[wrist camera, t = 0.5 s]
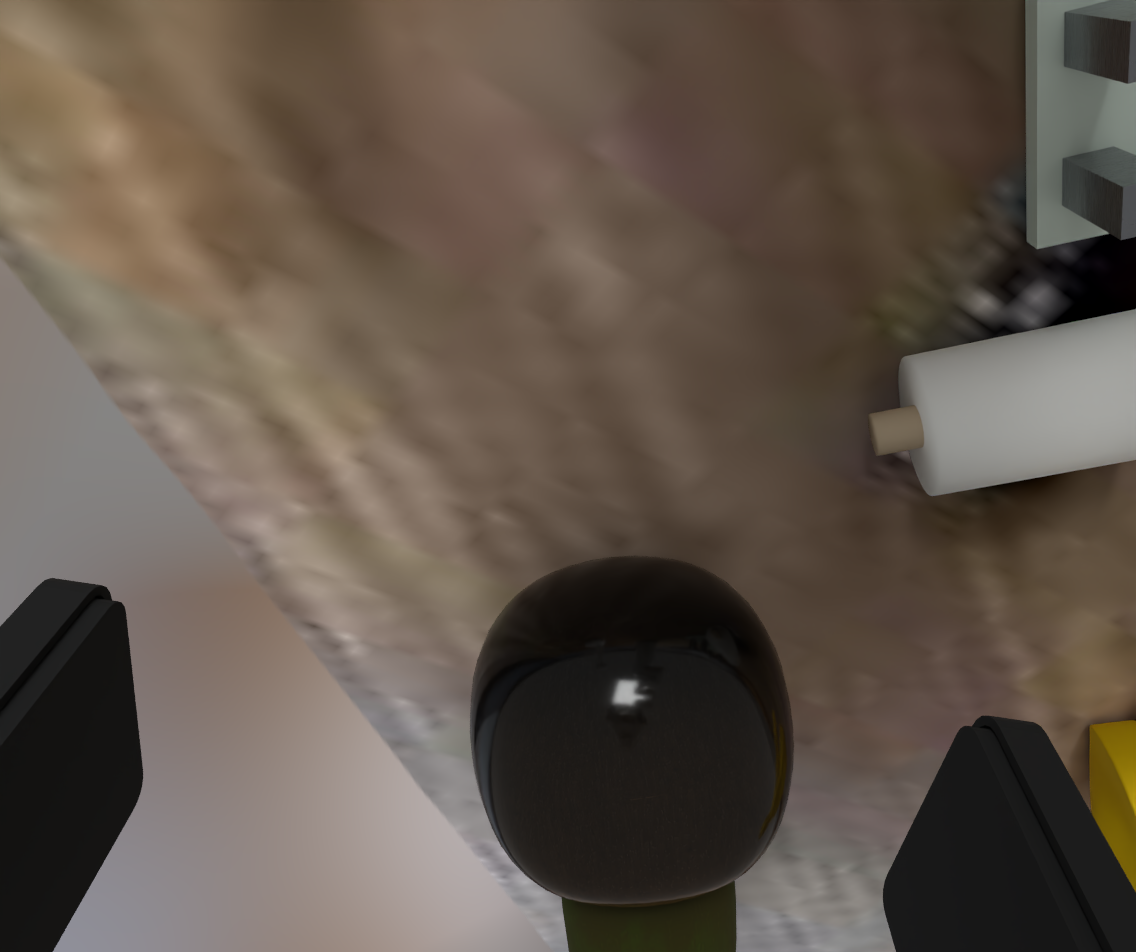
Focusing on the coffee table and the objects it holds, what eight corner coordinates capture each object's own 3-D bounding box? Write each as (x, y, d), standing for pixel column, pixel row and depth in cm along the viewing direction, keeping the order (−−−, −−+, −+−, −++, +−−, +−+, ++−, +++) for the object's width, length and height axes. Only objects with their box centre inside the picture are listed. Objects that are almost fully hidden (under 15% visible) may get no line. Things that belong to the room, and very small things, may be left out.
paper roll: (851, 343, 44) (886, 403, 38) (1187, 273, 42) (1278, 325, 36) (863, 460, 47) (897, 531, 41) (1176, 401, 45) (1258, 468, 39)
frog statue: (739, 501, 54) (770, 869, 60) (480, 529, 55) (533, 889, 61) (813, 621, 36) (847, 1135, 42) (424, 661, 37) (507, 1159, 42)
